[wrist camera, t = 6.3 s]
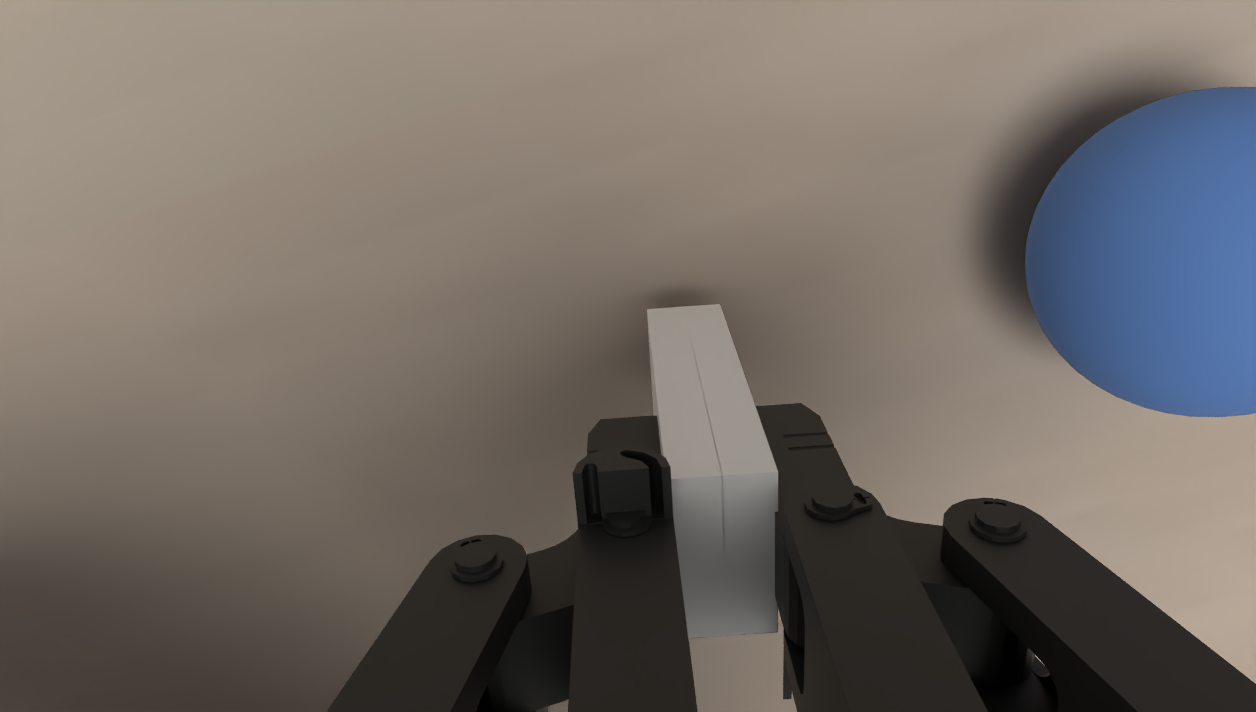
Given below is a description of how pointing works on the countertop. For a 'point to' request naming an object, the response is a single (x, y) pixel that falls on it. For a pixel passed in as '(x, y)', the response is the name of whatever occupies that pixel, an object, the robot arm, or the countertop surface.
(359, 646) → the countertop surface
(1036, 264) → the ball
